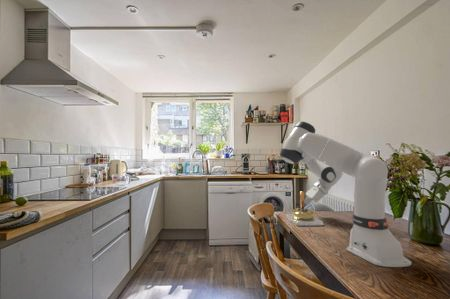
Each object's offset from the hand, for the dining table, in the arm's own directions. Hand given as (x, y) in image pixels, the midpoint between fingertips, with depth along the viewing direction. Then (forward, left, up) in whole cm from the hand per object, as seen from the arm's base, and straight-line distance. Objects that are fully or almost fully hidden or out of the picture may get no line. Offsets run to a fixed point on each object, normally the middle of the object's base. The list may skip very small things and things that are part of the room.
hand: (304, 203), depth 152 cm
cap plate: (-7, +4, -9) cm, 12 cm away
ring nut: (-6, +3, -7) cm, 9 cm away
